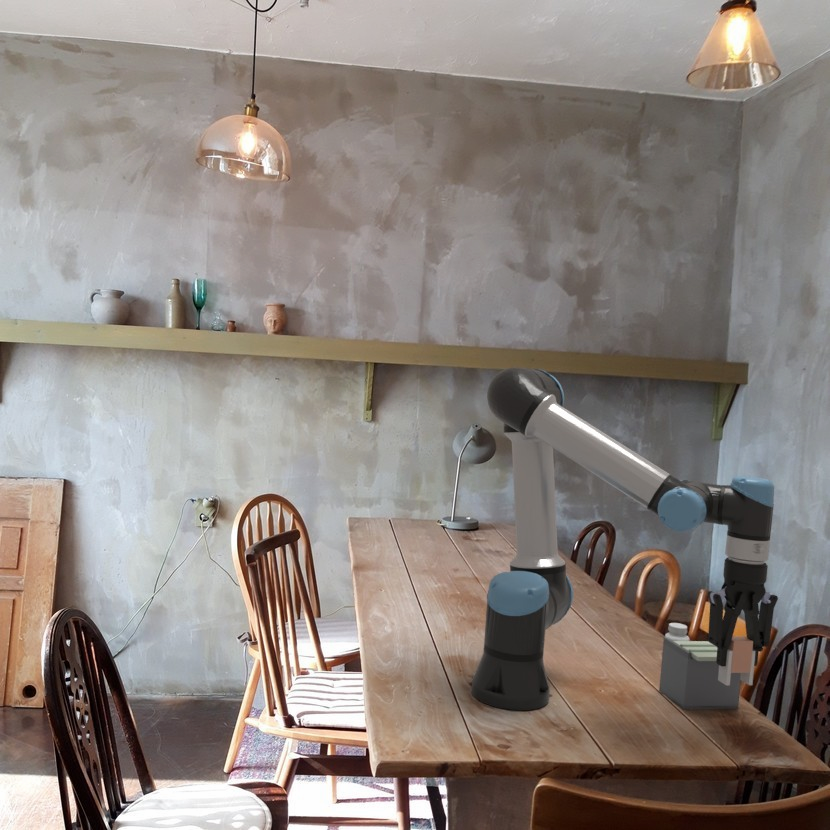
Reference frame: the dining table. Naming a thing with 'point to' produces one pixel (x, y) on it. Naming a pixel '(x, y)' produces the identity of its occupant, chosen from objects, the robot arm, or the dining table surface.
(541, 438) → the robot arm
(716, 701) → the tub
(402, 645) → the dining table surface
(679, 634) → the pill bottle
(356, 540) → the dining table surface
